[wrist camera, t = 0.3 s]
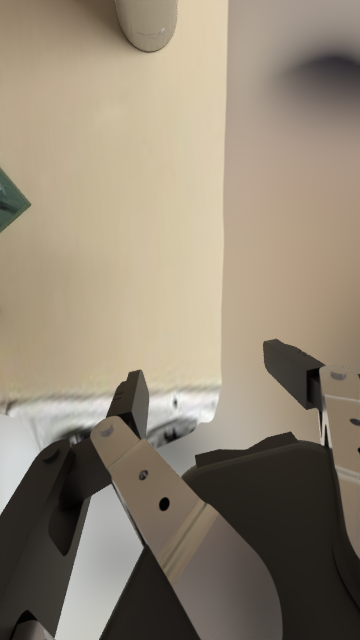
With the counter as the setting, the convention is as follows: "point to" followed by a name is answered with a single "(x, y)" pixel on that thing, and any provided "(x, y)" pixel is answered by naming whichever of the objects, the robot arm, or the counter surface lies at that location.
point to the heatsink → (10, 201)
